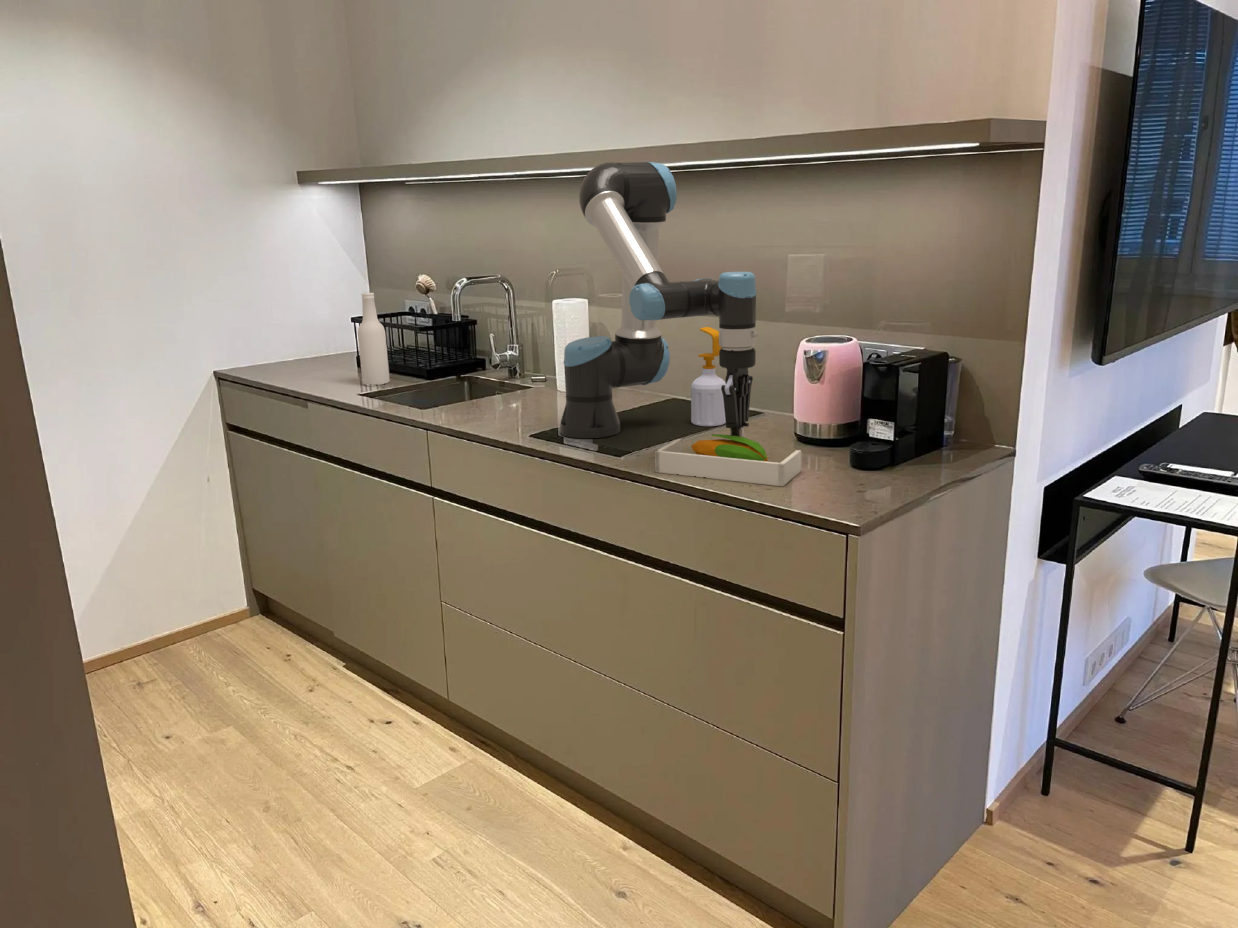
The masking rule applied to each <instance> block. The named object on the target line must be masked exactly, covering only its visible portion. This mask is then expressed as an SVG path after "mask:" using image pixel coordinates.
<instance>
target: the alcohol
mask: <svg viewBox="0 0 1238 928" xmlns="http://www.w3.org/2000/svg"><path fill="white" fill-rule="evenodd" d="M361 300H362V302H361V303H362V305H361V306H362V321H361V323H360V324H359V326H358V328H357V341H358V351H359V360H360V370H361V380H362V384H363V383H364V384H384V383H388V382H389V383H390V381H391V380H390V367H389V359H388V347H387V338H386V337H387V335H386V330H385V327H384V325H383V324H382V323H381V322H380V321H379V319H378V314H377V307H376V303H375V293H374V292H362V293H361ZM389 383H388V384H389ZM364 384H363V385H364Z"/></svg>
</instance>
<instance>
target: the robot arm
mask: <svg viewBox="0 0 1238 928" xmlns="http://www.w3.org/2000/svg"><path fill="white" fill-rule="evenodd" d="M579 187H580V188H579V194H578V195H579V196H578V197H579V198H578V199H579V206H580V210H581V212H582V215H583V216H584V218H585V220H586V222H587V223H588V224H589V225H591V226H592V227H595V228H596V230H597V232H598V234H599V235H600V237H601V238H602V240H603V242H604V243H605V245H606V247H607V249H608V251H609V252H610V253H611V255H612V257H613V259H614V261H615V262H616V264H617V266H618V267H619V269H620V270H621V272H622V277H621V278H622V282H621V283H622V284H621V285H622V286H621V287H622V288H621V289H622V290H621V321H620V322H621V324H620V326H619V327H618V328H617V329H616V330H615V331H614V333H615V334H614V341H612V340H611V338H610V337H609V336H606V335H605V336H604V335H603V336H602V335H596V336H589V337H588V336H587V337H584V338H579V339H576V340H572V341H571V342H568V343H567V345H566V346H565V347H564V352H563V353H564V354H563V355H564V356H563V357H564V358H563V366H564V368H563V369H564V383H565V384H564V385H565V387H564V388H565V406H564V409H563V413H562V416H561V419H560V424H559V427H560V434H561V435H562V436H564V437H567V438H575V439H598V438H607V437H611V436H615V435H617V434H619V433H620V432H621V421H620V418H619V415H618V412H617V410H616V407H615V404H614V401H613V389H615V388H616V389H617V388H627V387H634V386H647V385H649V384H650V385H651V384H654V383H658V382H660V381H661V380H662V379H663V378H664V377H665V376H666V375H667V372H668V370H669V367H670V360H671V354H670V353H671V351H670V349H669V343H668V342H667V341H666V339H665V338H664V337H662V331H660V329H658V327H657V326H656V323H657V321H659V320H668V319H679V318H692V317H704V316H713V317H718V318H719V319H718V321H719V323H718V324H719V325H718V327H719V328H718V331H719V346H720V347H722V348H721V349H720V350H719V356H718V358H719V360H718V361H719V362H718V363H719V364H718V365H719V366H720V367H721V368H722V369H723V368H724V369H726V376H725V379H724V381H725V383H726V385H722V387H721V390H722V394H723V399H724V409H725V419H726V423H725V428H726V429H730V431H729V433H730V434H729V435H731V436H738V437H744V438H745V428H746V427H747V428H749V426H750V424H749V415H750V407H751V406H750V404H751V394H752V393H751V391H752V385H753V380H754V379H753V375H749V369H750V368H753V367H755V366H756V352H757V351H756V349H755V348H754V347H755V345H756V338H757V337H758V332H757V331H756V322H757V320H756V318H757V316H756V315H757V293H758V291H757V289H756V288H757V285H756V276H755V274H754V273H753V272H750V271H727V272H721V273H720V274H719V277H718V279H712V278H709V277H707V278H697V279H694V280H687V281H686V280H685V281H669V279H668V277H667V276H666V275H665V273H664V272H663V270H662V268H661V266H660V265H659V245H660V244H659V242H660V238H659V237H660V228H661V227H662V226H664V224H665V223H666V221H667V220H666V219H667V214H669V213H671V212H672V211H673V210H674V209H675V205H676V203H677V197H678V195H677V194H678V193H677V185H676V181H675V178H674V175H673V174H672V172H671V170H670V168H668V166H666V164H664V163H661V162H660V163H659V162H652V161H651V162H650V161H637V162H636V161H633V162H628V161H627V162H614V161H611V162H609V161H608V162H603V163H601V164H598V165H596V166H594V167H593V168H592V169H591V170H589V171H588V173H587V174H586V176H584V179H583V180H582V182H581V185H580V186H579ZM729 440H731V439H729ZM733 441H734V440H733Z"/></svg>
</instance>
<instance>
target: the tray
mask: <svg viewBox="0 0 1238 928" xmlns="http://www.w3.org/2000/svg"><path fill="white" fill-rule="evenodd" d="M654 467H655V468H654V472H655V473H658V474H659V473H660V474H668V475H669V474H671V475H676V474H679V475H678V476H686V477H694V476H696V478H703V477H706V478H705V479H713V480H722V481H731V482H738V483H749V484H756V485H757V484H759V485H768V486H775V487H777V486H778V487H784V486H786V484H788V482H790V481H791V480H792V479H793V478H794V477H796V476H797V475H798V474H800V473H801V471H802V470H801V469H802V450H800V449H799V450H798V449H796V450H795V451H793V452H792V453H791V454H789V455H788V456H787V457H786V458H785V459H783V460H782V461H781V462H777V461H776V462H773V461H768V462H766V461H756V460H746V459H737V458H727V457H717V456H707V455H697V454H696V453H695V454H694V453H687V452H683V439H682V438H677V439H676V440H673V441H671V442H669V443H668V444H666V445H664V446H662V447H661V448H659V449H656V450H655V451H654Z"/></svg>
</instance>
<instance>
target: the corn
mask: <svg viewBox="0 0 1238 928" xmlns="http://www.w3.org/2000/svg"><path fill="white" fill-rule="evenodd" d="M710 435H711V437H717V438H718V439H701V440H700V439H699V440H696V442H695V443H692V444H691V445H690V446H691V450H692V451H693V452H694V453H695V454H697V455H707V456H717V457H727V458H737V459H746V460H756V461H766V462H769V457H768V455H767V453H766V450H765V448H764V447H763V446H762V445H761V444H760V443H759V442H758V441H755V440H752V439H749V438H748V437H747V438H746V437H745V436H744V437H738V436H731V435H730V434H719V433H717V434H715V433H714V434H710ZM719 438H722V439H719ZM730 439H731V440H730ZM733 440H734V441H733Z"/></svg>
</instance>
